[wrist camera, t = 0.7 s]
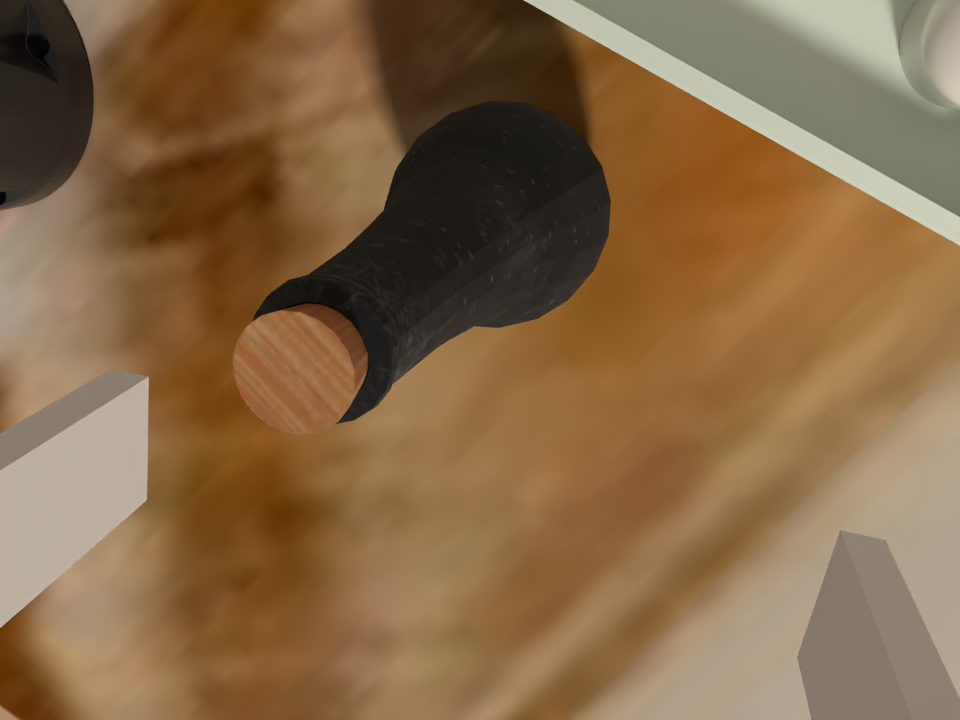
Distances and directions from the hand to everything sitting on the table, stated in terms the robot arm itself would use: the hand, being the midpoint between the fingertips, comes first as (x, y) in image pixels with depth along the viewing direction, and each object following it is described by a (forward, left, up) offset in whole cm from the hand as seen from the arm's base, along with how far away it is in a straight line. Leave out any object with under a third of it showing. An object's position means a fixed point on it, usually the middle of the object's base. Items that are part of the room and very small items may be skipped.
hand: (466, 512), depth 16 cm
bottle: (-5, -1, -34) cm, 34 cm away
